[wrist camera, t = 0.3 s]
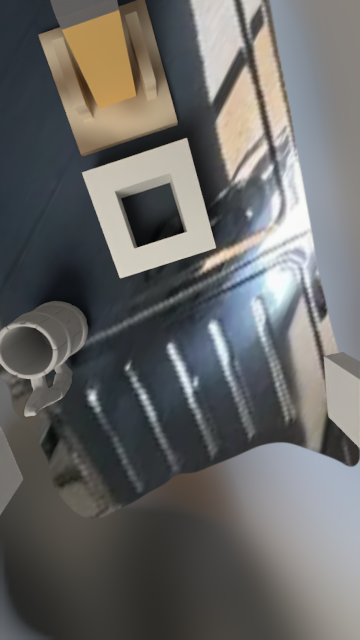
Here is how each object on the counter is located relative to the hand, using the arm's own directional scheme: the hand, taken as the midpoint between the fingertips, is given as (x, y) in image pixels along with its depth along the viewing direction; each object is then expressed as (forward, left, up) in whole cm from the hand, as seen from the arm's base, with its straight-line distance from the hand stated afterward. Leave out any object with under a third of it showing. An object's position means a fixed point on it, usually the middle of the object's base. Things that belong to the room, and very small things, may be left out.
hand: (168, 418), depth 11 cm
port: (-11, +2, -27) cm, 29 cm away
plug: (-26, +2, -26) cm, 37 cm away
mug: (+1, -15, -27) cm, 31 cm away
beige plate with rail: (-26, +2, -27) cm, 38 cm away
